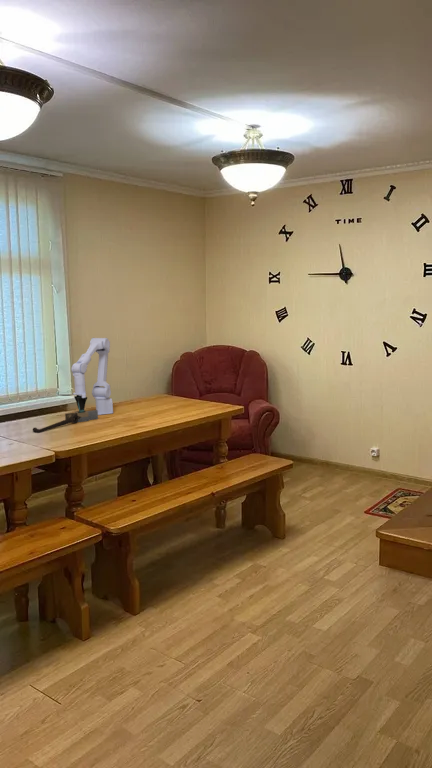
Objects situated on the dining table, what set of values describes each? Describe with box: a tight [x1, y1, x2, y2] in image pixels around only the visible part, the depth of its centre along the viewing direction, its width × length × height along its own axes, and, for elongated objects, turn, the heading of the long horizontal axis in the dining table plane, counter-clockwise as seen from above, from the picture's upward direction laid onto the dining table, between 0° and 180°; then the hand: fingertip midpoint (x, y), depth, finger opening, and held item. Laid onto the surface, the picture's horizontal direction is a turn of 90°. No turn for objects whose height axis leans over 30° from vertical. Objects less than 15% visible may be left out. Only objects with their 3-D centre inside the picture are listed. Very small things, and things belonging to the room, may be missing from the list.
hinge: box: [64, 409, 99, 423], centre depth 345 cm, size 18×6×5 cm, turn 117°
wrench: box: [32, 414, 81, 434], centre depth 330 cm, size 5×5×30 cm
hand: (81, 409), depth 344 cm, fingers closed on pin, 3 cm apart
